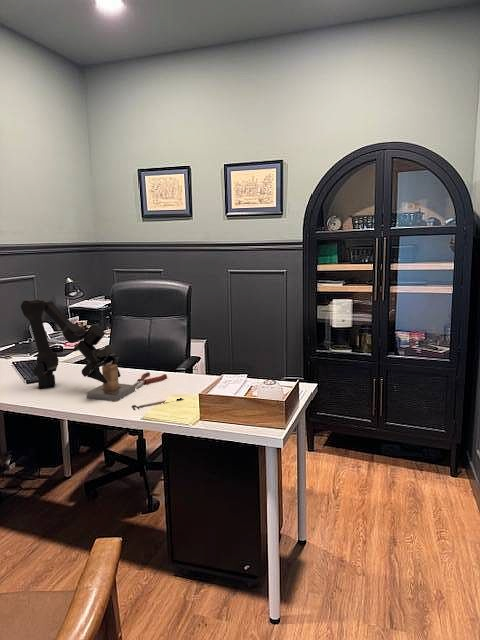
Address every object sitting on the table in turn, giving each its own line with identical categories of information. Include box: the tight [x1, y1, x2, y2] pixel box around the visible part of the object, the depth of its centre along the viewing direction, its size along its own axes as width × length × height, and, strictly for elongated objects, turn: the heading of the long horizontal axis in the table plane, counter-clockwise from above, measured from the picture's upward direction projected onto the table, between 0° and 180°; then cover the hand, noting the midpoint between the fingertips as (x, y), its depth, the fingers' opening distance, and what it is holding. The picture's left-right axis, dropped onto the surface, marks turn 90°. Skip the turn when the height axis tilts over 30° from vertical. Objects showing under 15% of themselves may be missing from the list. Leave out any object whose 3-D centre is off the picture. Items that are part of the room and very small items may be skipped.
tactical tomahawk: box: [131, 400, 166, 411], centre depth 178 cm, size 21×7×1 cm, turn 116°
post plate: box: [86, 383, 136, 402], centre depth 191 cm, size 14×14×2 cm
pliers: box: [132, 371, 168, 389], centre depth 207 cm, size 12×20×3 cm, turn 157°
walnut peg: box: [101, 364, 120, 392], centre depth 191 cm, size 4×4×12 cm
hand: (113, 379), depth 190 cm, fingers open, 9 cm apart
